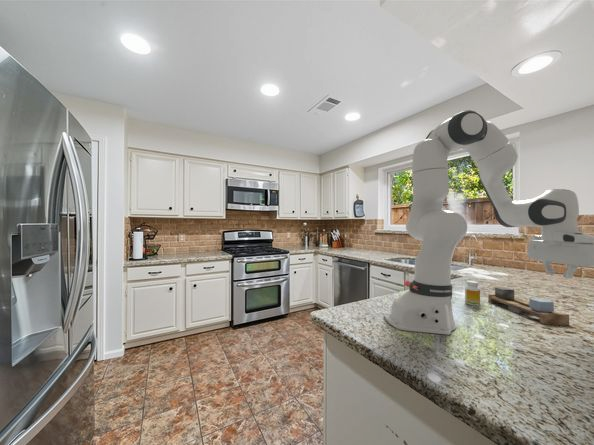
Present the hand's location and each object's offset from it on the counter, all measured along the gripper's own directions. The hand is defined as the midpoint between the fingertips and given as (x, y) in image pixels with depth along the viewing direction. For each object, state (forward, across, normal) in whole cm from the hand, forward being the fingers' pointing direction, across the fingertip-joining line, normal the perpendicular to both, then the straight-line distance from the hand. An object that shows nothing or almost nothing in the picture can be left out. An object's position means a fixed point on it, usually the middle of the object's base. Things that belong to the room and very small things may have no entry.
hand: (558, 276), depth 84 cm
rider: (+15, -6, 0) cm, 16 cm away
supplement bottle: (+17, -22, -14) cm, 31 cm away
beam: (+17, -13, 0) cm, 21 cm away
